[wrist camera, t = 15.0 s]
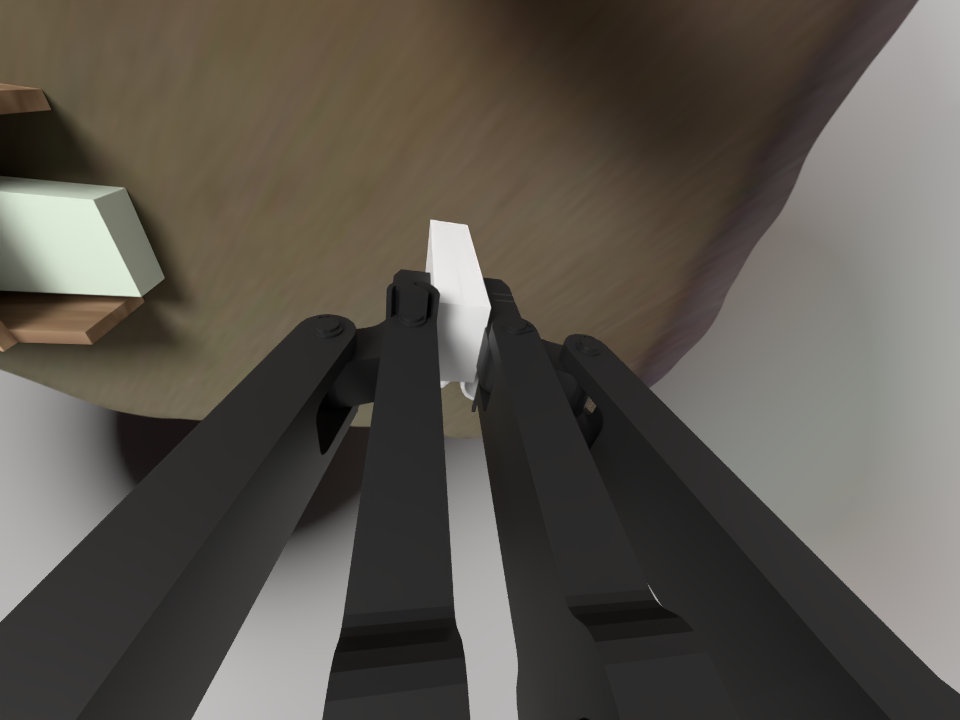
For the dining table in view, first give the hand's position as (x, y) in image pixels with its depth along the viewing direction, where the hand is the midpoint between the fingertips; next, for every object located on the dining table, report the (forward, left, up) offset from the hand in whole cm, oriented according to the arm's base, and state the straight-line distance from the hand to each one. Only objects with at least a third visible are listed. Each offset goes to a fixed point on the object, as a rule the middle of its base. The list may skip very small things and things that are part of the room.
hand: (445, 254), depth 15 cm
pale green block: (+12, -40, -30) cm, 52 cm away
